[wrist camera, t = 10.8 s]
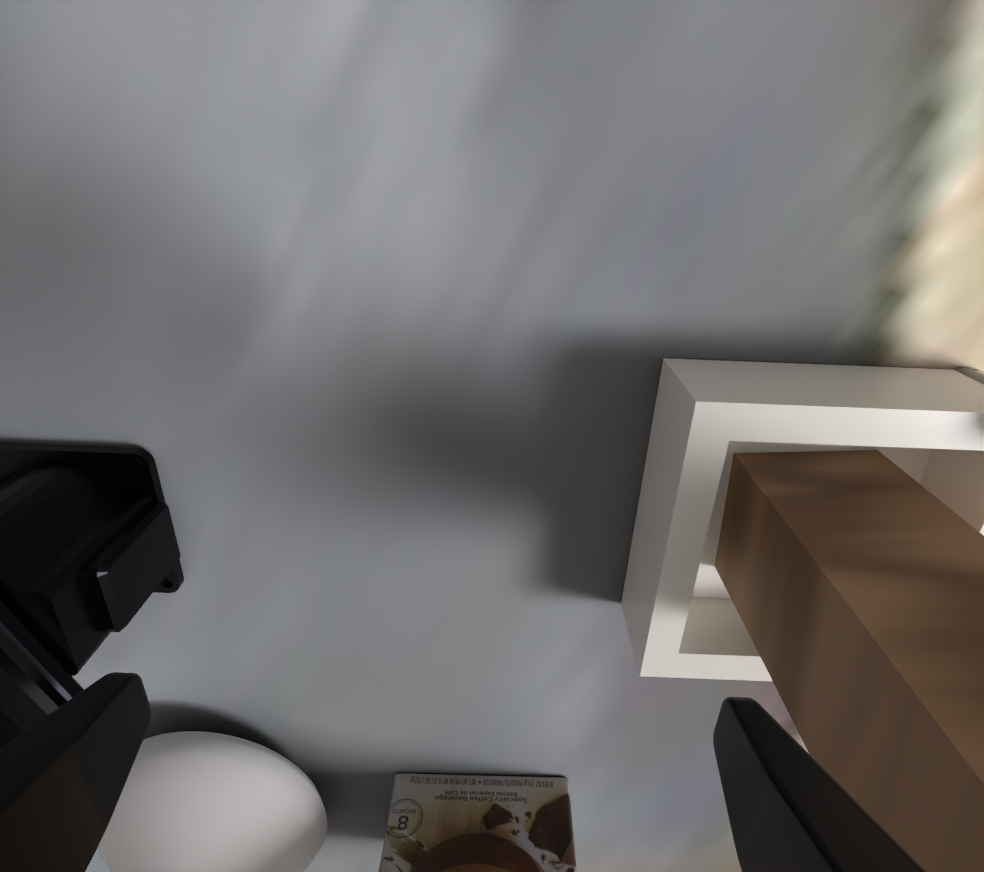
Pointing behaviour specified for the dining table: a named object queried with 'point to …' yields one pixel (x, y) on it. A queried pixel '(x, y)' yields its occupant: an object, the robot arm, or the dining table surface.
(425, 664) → the dining table surface
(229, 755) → the flower in vase
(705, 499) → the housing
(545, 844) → the coffee box
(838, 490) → the brown block
